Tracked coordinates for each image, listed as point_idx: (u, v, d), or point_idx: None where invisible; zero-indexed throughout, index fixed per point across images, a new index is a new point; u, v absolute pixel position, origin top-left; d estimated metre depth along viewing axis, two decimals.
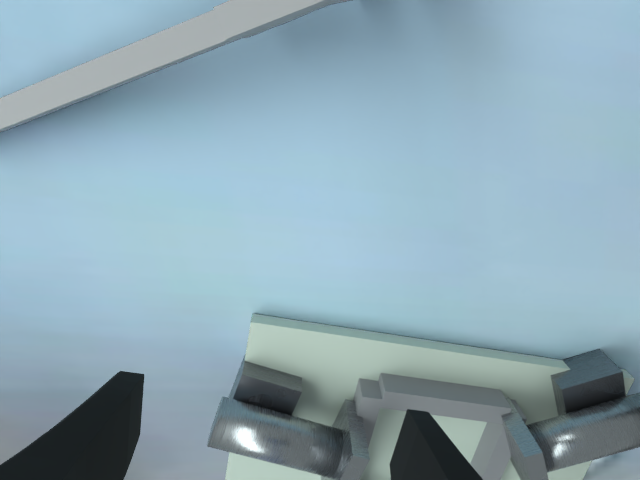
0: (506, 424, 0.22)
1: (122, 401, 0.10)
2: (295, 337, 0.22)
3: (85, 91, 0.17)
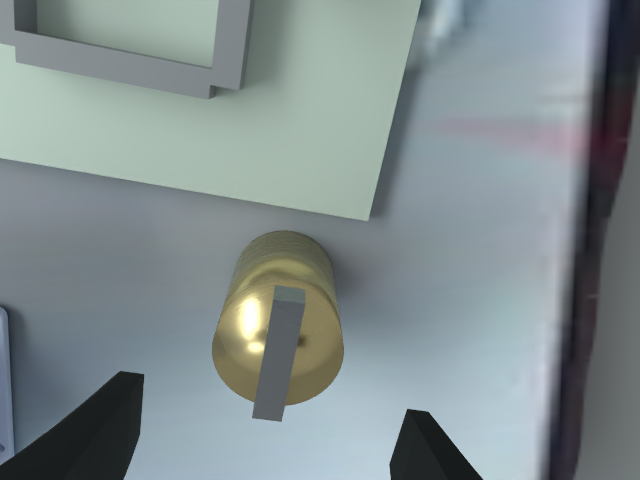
0: None
1: (122, 401, 0.10)
2: None
3: None
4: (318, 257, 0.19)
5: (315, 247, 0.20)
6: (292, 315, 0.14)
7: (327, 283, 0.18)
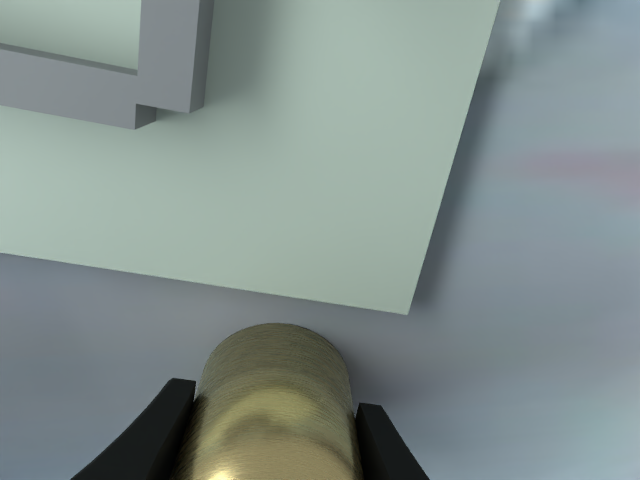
0: None
1: (181, 409, 0.11)
2: None
3: None
4: (329, 375, 0.12)
5: (324, 353, 0.13)
6: None
7: (346, 437, 0.10)
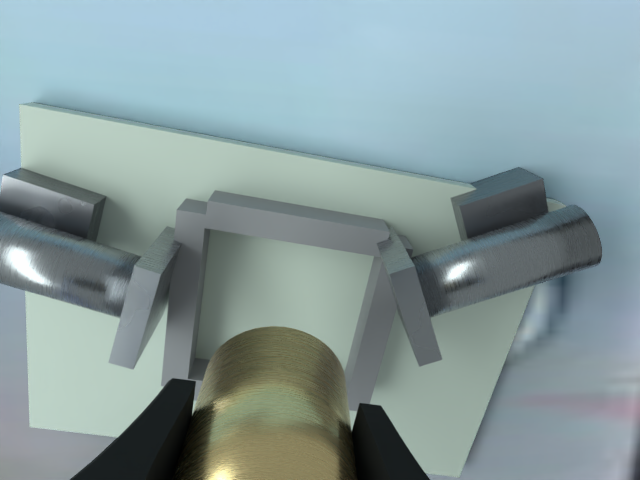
0: (379, 250, 0.16)
1: (181, 409, 0.11)
2: (87, 130, 0.16)
3: None
4: (314, 370, 0.12)
5: (309, 349, 0.13)
6: None
7: (329, 428, 0.11)
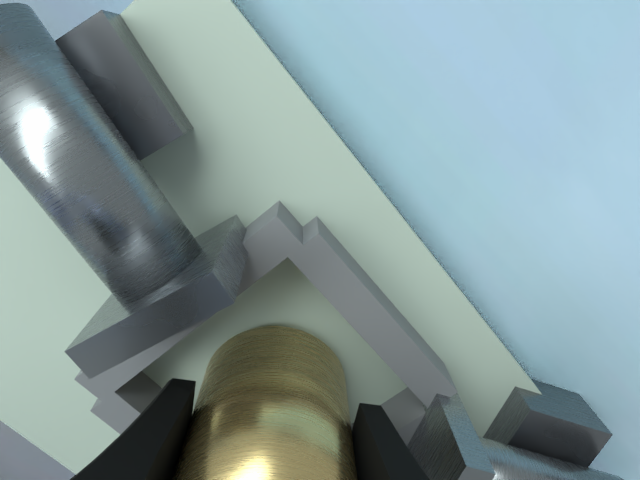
0: (442, 408, 0.13)
1: (181, 409, 0.11)
2: (239, 44, 0.11)
3: None
4: (314, 370, 0.12)
5: (309, 349, 0.13)
6: None
7: (329, 428, 0.11)
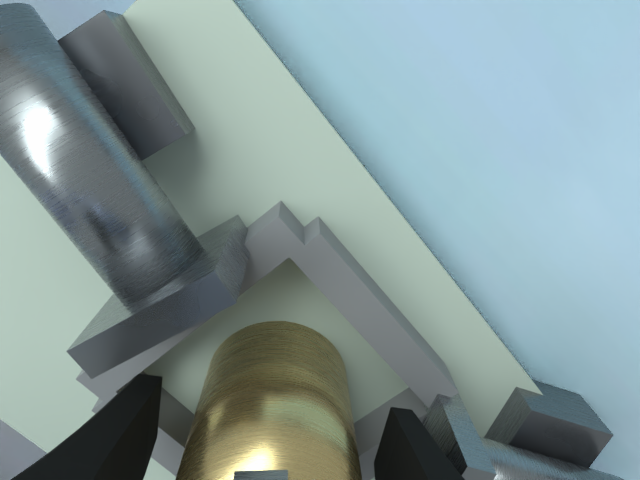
0: (443, 408, 0.13)
1: (142, 404, 0.10)
2: (241, 44, 0.11)
3: None
4: (316, 362, 0.13)
5: (311, 342, 0.13)
6: None
7: (332, 416, 0.11)
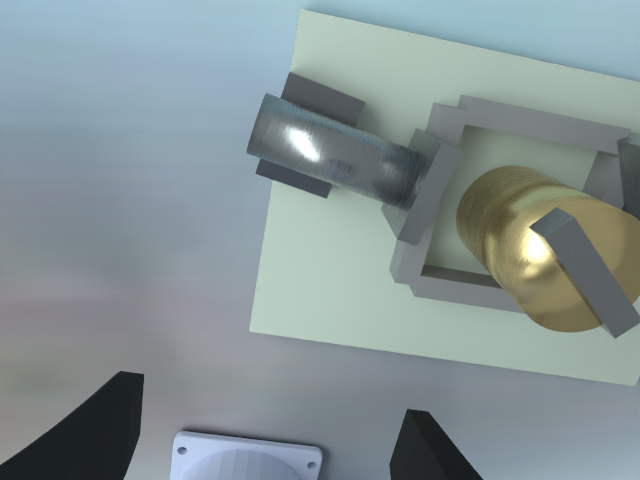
0: (627, 143, 0.17)
1: (121, 401, 0.10)
2: (356, 35, 0.18)
3: None
4: (523, 174, 0.18)
5: (511, 170, 0.19)
6: (571, 234, 0.14)
7: (558, 185, 0.16)
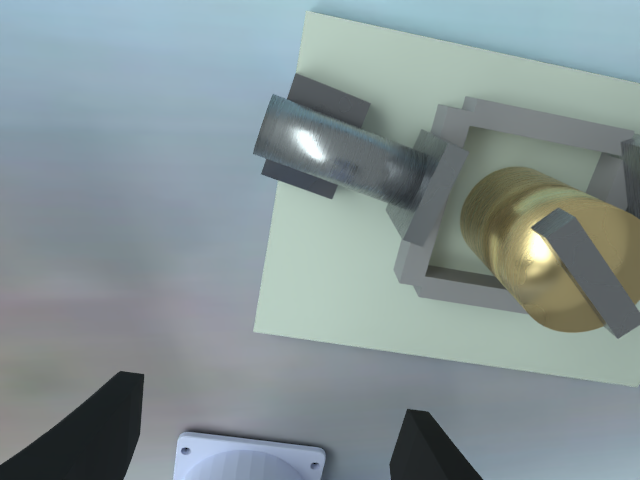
0: (631, 145, 0.18)
1: (122, 401, 0.10)
2: (361, 36, 0.18)
3: None
4: (527, 175, 0.18)
5: (514, 171, 0.19)
6: (573, 234, 0.14)
7: (561, 186, 0.16)
